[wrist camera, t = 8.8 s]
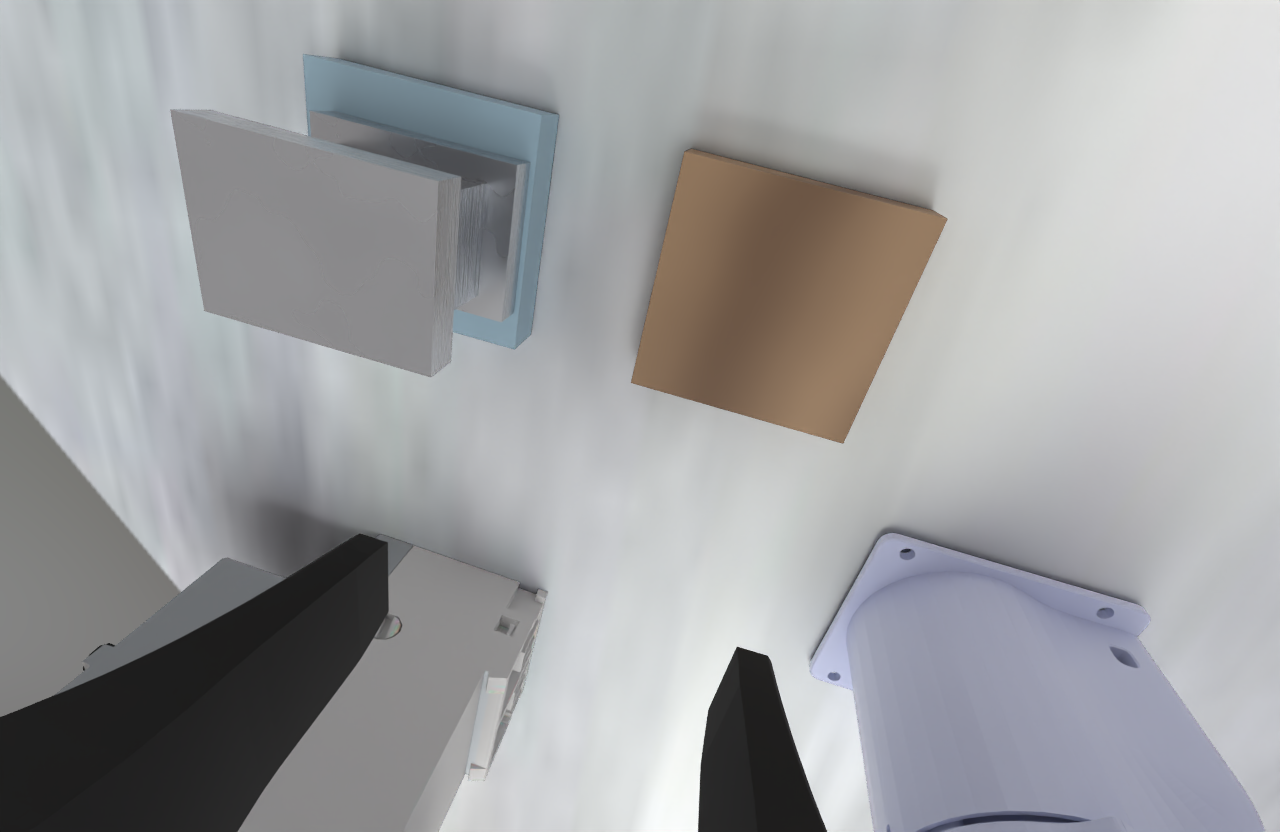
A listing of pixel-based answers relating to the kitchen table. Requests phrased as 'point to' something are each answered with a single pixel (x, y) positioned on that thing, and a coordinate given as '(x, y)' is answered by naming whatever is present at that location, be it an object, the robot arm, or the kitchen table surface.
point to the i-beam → (351, 231)
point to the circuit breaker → (381, 693)
